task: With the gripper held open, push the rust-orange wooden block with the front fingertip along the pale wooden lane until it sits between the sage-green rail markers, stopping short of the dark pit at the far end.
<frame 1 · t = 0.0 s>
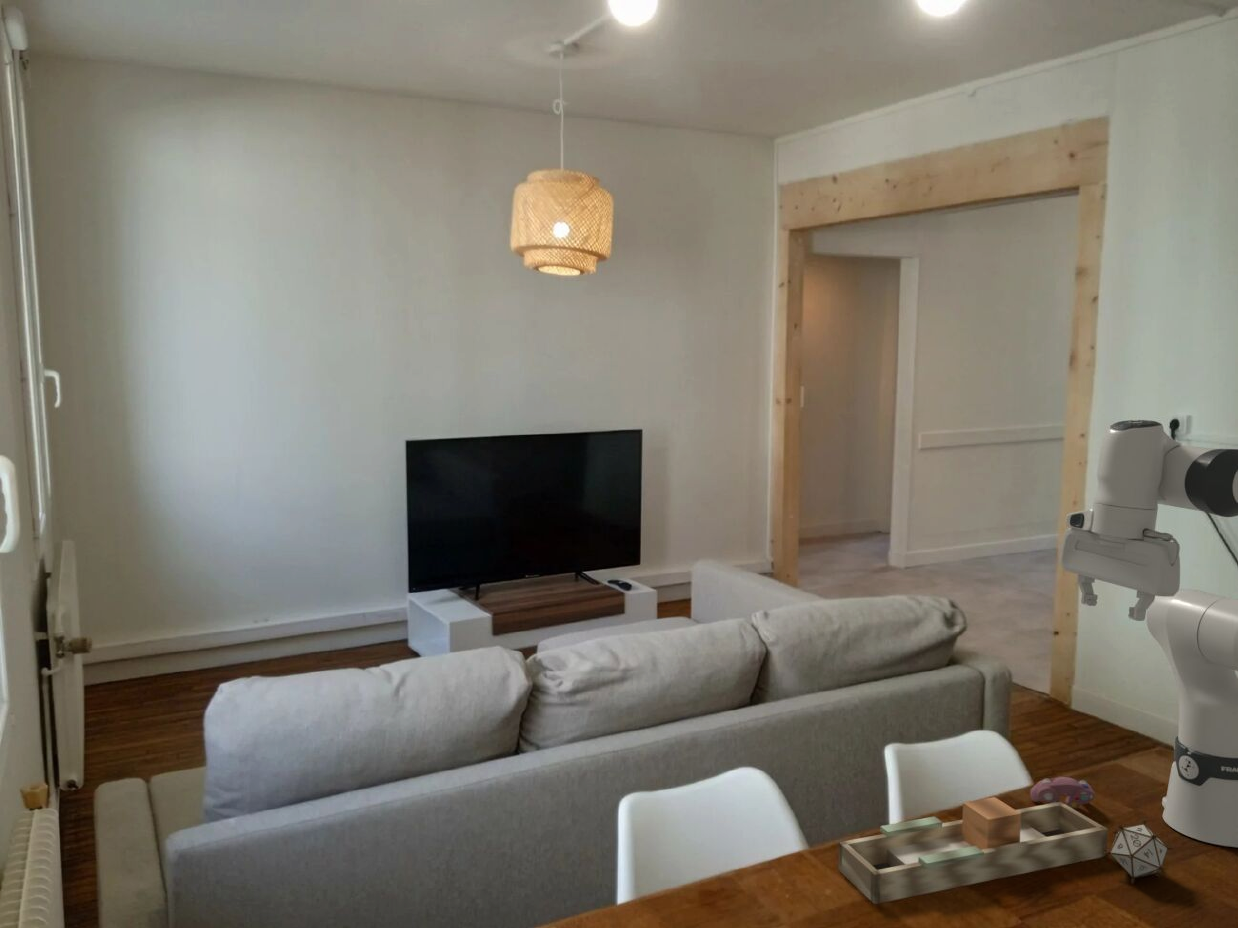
hand: (1111, 612, 151), 39 cm above the table, tool pointing down, fingers open, 8 cm apart
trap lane: (973, 862, 151), on the table
game die: (1137, 876, 147), on the table
block: (990, 844, 152), point 2 cm above the table, touching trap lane
video game controller: (1061, 807, 170), on the table
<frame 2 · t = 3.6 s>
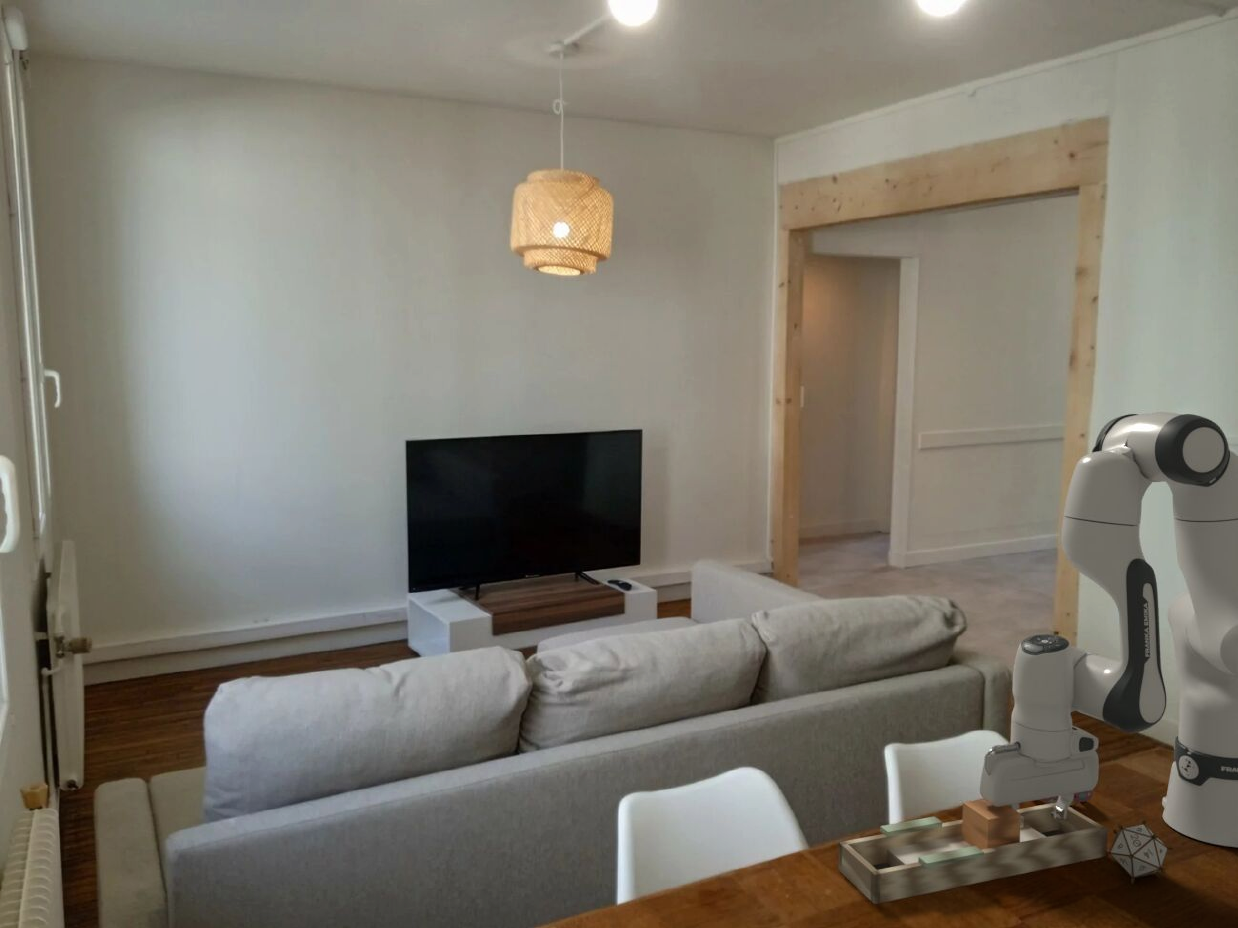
hand: (1037, 822, 154), 5 cm above the table, tool pointing down, fingers open, 7 cm apart
block: (990, 844, 152), point 2 cm above the table, touching gripper, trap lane
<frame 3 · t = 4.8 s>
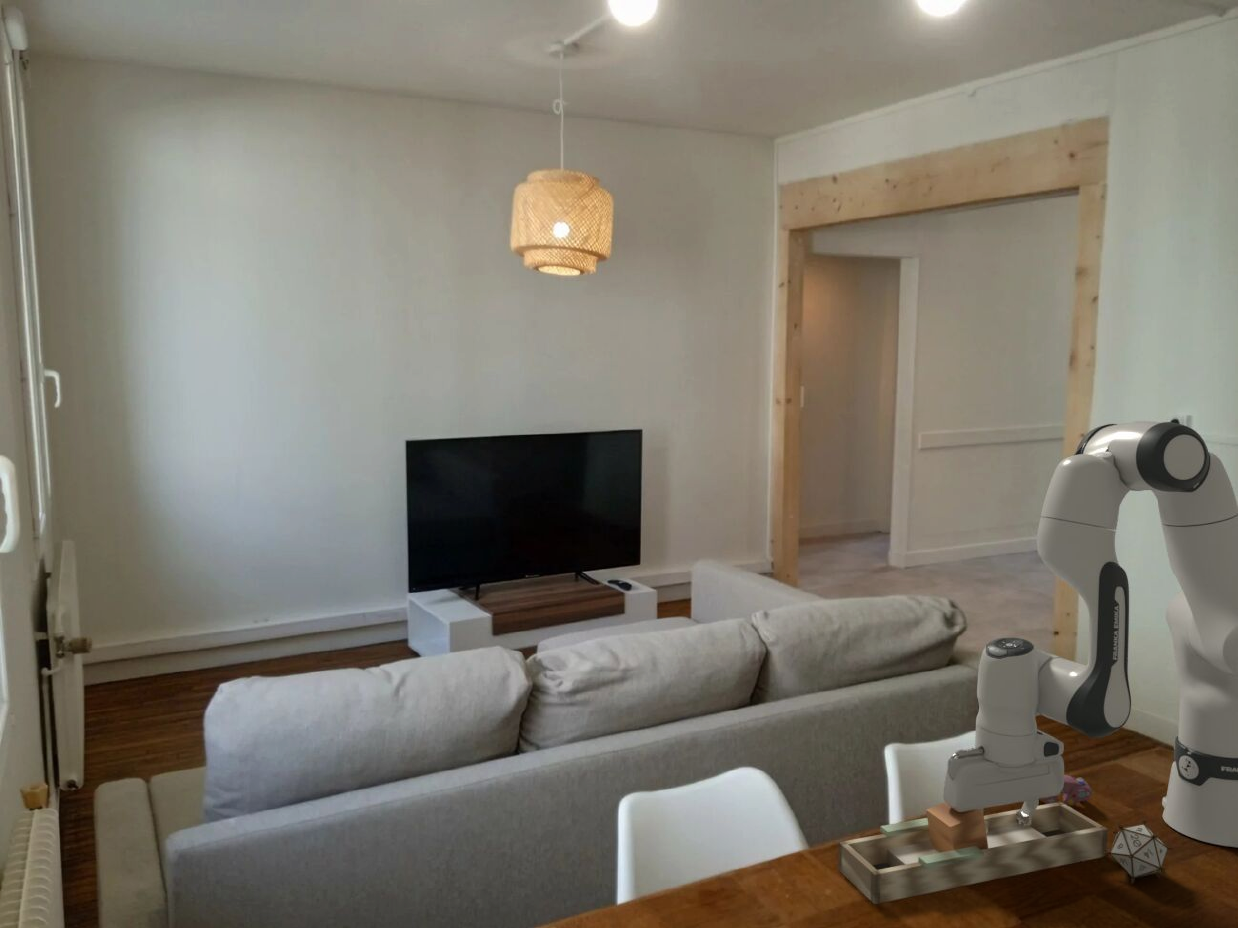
hand: (1002, 827, 152), 5 cm above the table, tool pointing down, fingers open, 7 cm apart
block: (959, 846, 150), point 3 cm above the table, tilted 11°, touching gripper, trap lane
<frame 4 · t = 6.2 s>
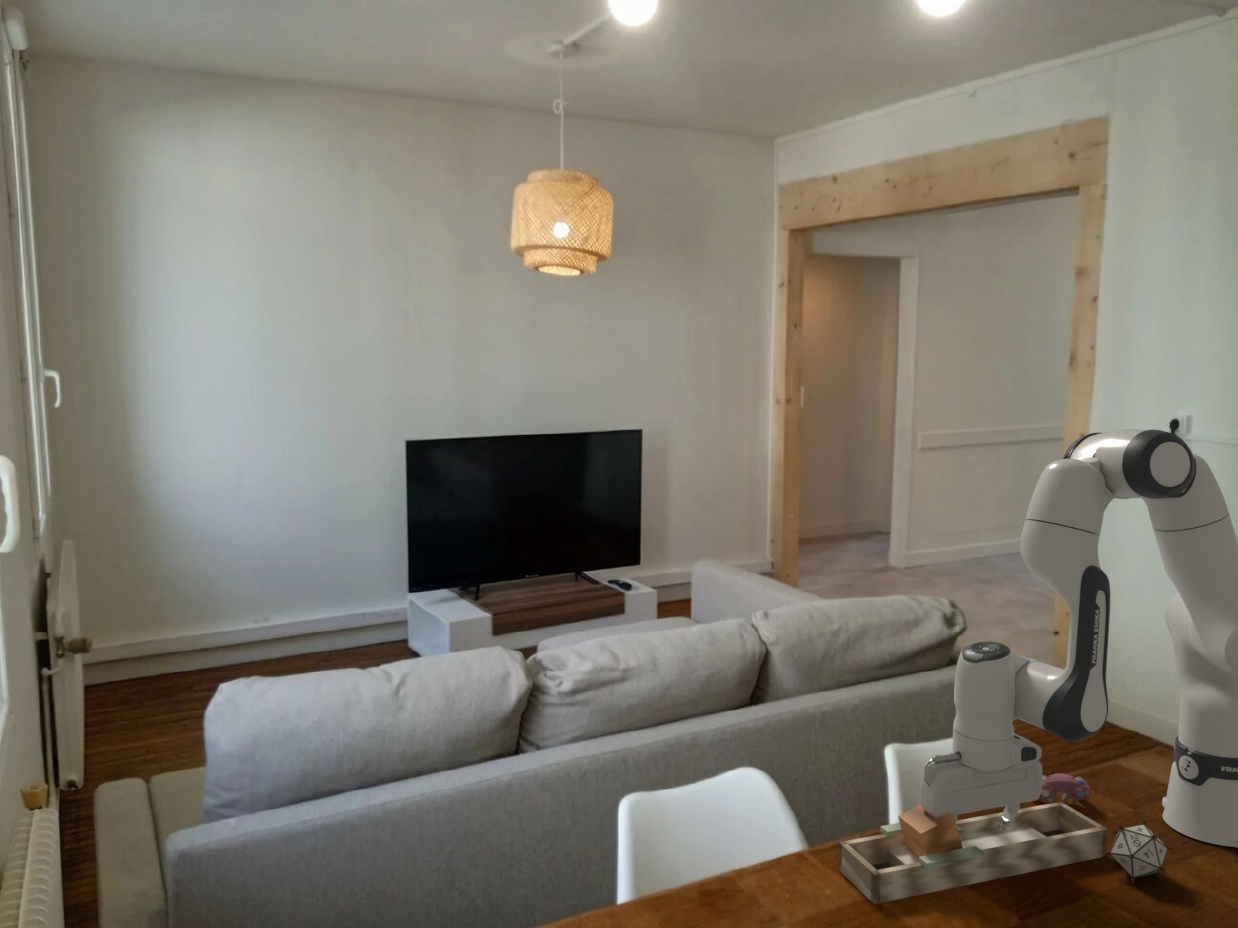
hand: (980, 833, 151), 5 cm above the table, tool pointing down, fingers open, 8 cm apart
block: (935, 849, 149), point 3 cm above the table, tilted 18°, touching gripper, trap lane
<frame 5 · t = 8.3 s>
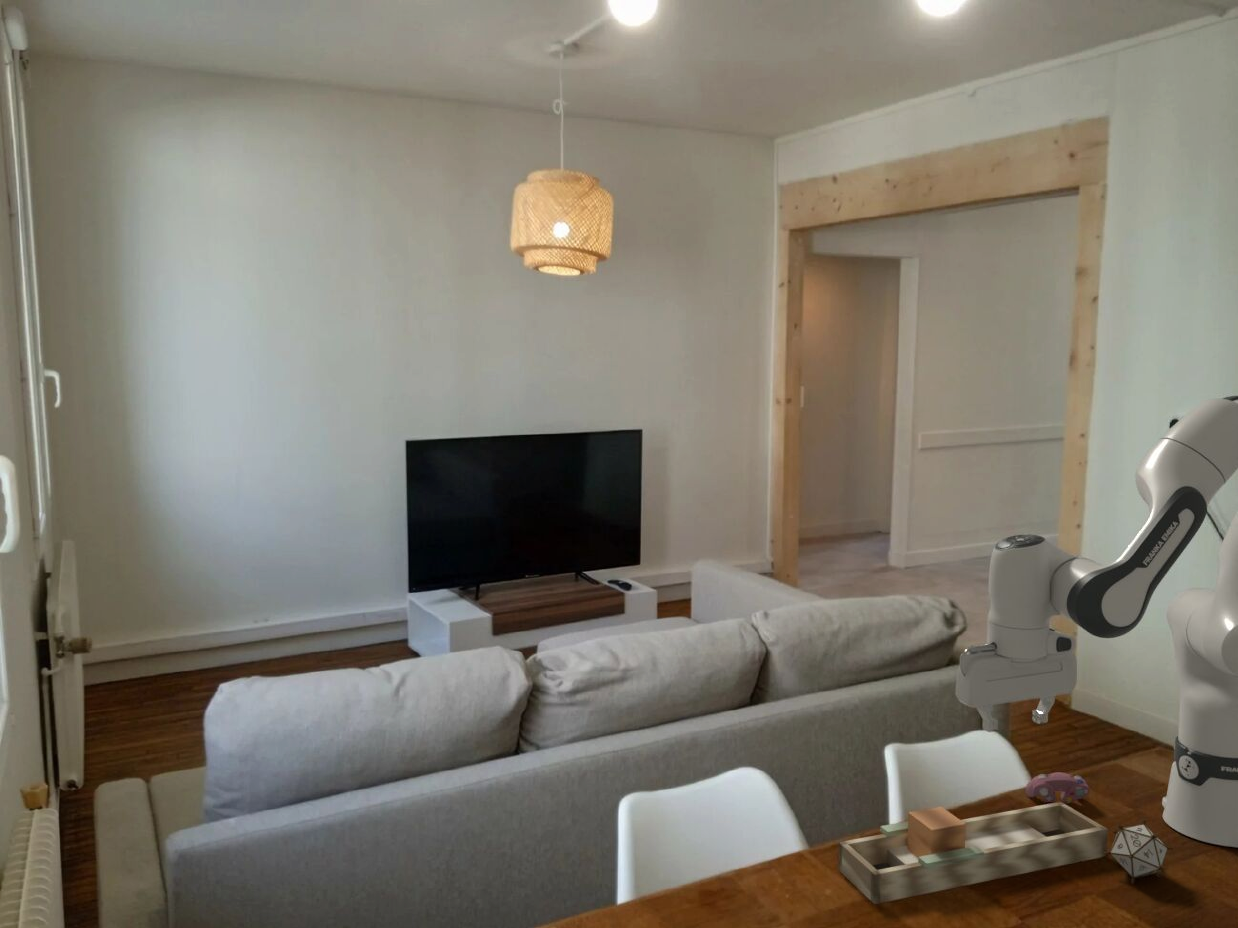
hand: (1015, 726, 151), 21 cm above the table, tool pointing down, fingers open, 8 cm apart
block: (935, 855, 149), point 2 cm above the table, touching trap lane
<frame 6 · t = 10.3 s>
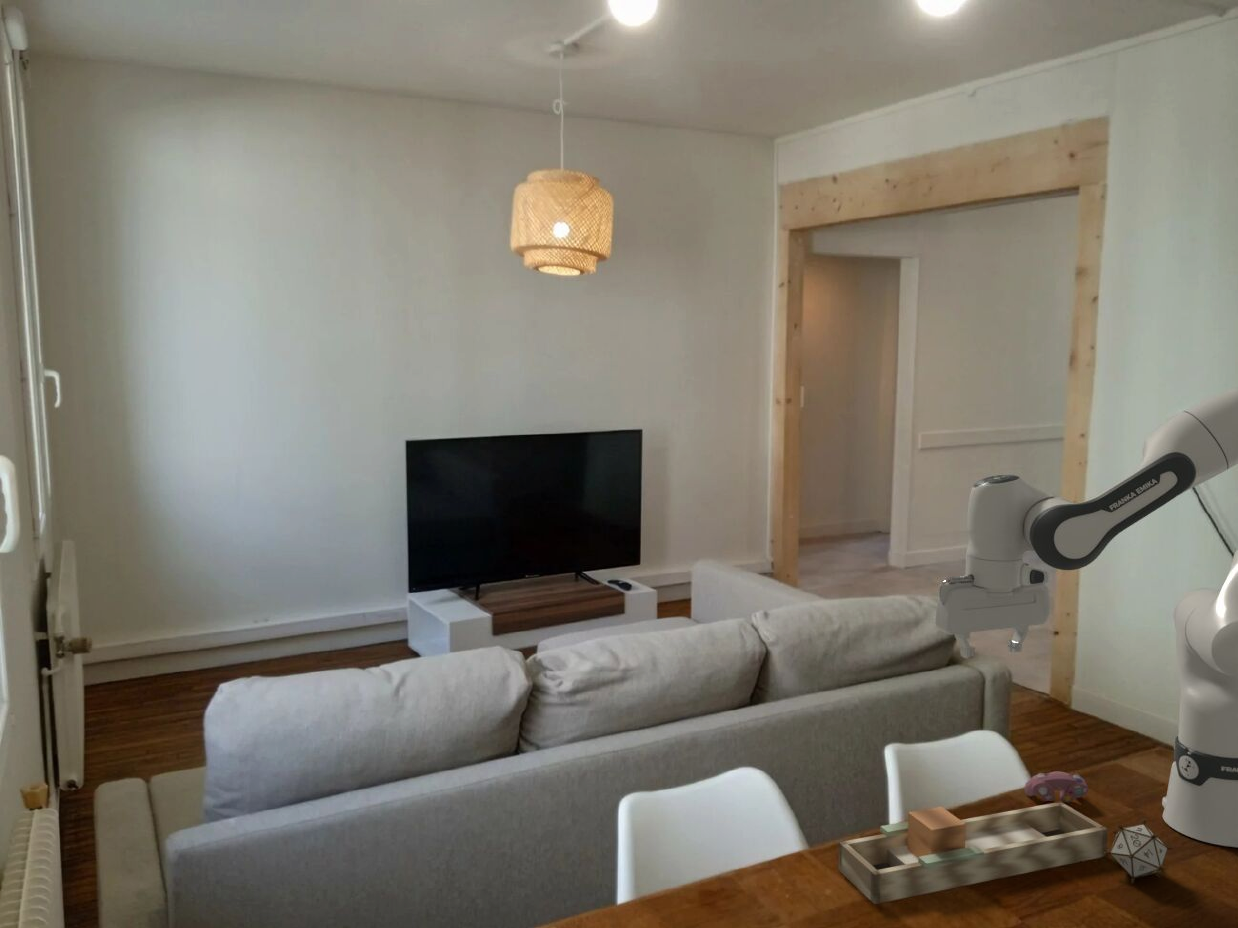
hand: (991, 654, 162), 29 cm above the table, tool pointing down, fingers open, 8 cm apart
at the end: block 0.6 cm from the target spot on the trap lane, point 2.5 cm above the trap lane's base; block tilted 0° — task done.
